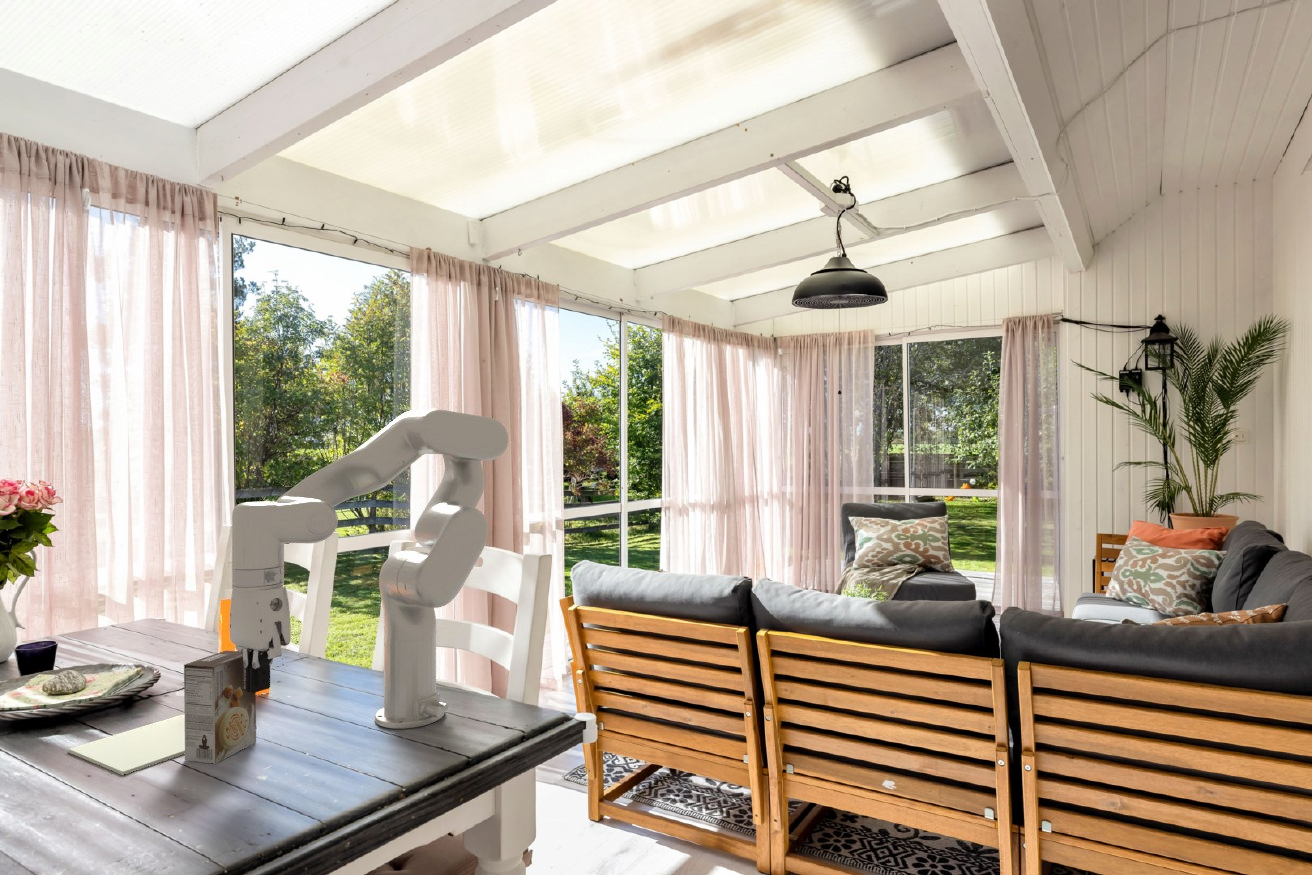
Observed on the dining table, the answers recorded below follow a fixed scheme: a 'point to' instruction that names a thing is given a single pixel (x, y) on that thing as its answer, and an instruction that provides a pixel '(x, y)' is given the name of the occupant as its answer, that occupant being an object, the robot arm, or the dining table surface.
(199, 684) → the coffee box
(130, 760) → the mat
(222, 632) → the orange juice
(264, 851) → the dining table surface
